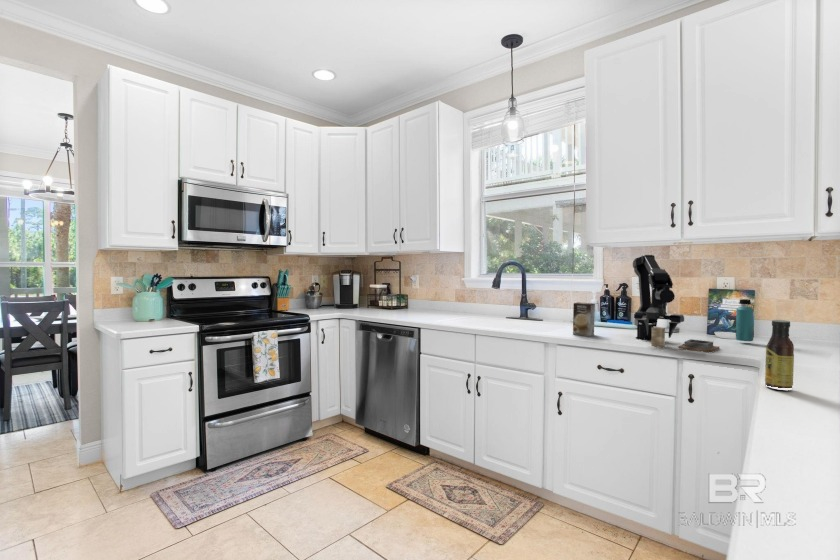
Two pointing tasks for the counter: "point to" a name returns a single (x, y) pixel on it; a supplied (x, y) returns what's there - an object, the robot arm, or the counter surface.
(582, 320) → the coffee box
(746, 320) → the beverage bottle
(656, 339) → the maple peg
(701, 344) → the socket holder
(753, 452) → the counter surface
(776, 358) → the sauce bottle
